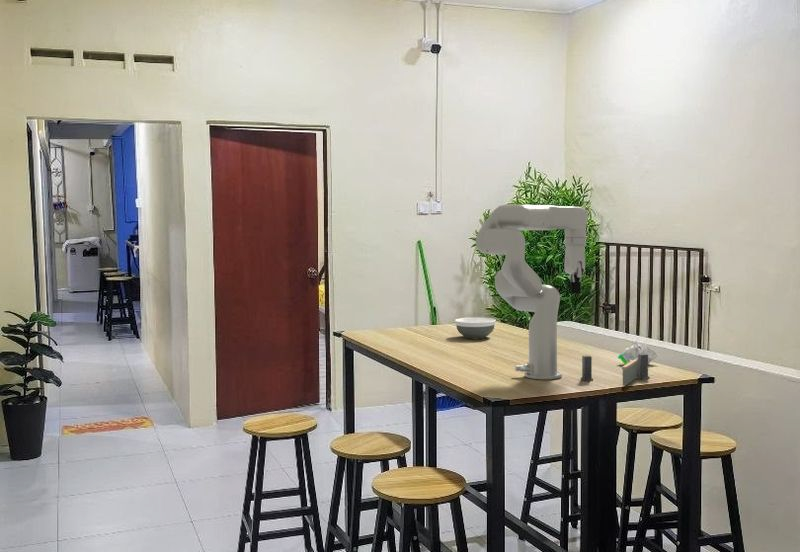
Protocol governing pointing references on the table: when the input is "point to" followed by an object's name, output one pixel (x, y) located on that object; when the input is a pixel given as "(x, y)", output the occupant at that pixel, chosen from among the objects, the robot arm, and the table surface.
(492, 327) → the bowl
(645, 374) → the gate posts
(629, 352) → the crumpled plastic bottle
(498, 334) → the table surface
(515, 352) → the table surface
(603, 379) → the table surface
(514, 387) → the table surface
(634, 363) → the gate leaf
